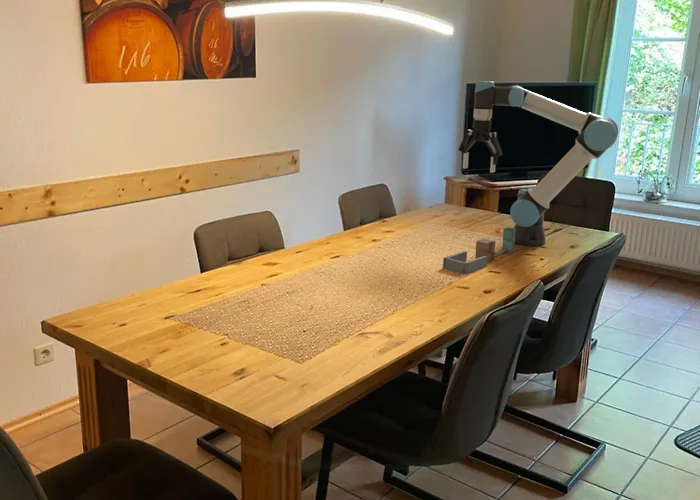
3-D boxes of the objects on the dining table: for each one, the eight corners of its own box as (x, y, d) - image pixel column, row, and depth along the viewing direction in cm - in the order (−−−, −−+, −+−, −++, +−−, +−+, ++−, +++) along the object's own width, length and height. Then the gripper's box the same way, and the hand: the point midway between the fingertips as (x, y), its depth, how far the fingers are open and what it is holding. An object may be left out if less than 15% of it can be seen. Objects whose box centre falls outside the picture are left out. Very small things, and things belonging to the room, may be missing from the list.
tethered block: (504, 249, 290) (506, 226, 288) (515, 252, 287) (517, 228, 284) (475, 260, 275) (476, 236, 272) (485, 262, 271) (487, 238, 269)
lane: (463, 260, 274) (464, 250, 273) (486, 266, 267) (487, 256, 266) (442, 267, 264) (443, 257, 263) (465, 274, 257) (466, 263, 256)
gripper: (452, 117, 291) (449, 167, 297) (503, 122, 275) (499, 175, 281) (462, 116, 297) (459, 165, 303) (513, 121, 280) (509, 173, 286)
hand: (478, 170), depth 292 cm, fingers open, 13 cm apart
